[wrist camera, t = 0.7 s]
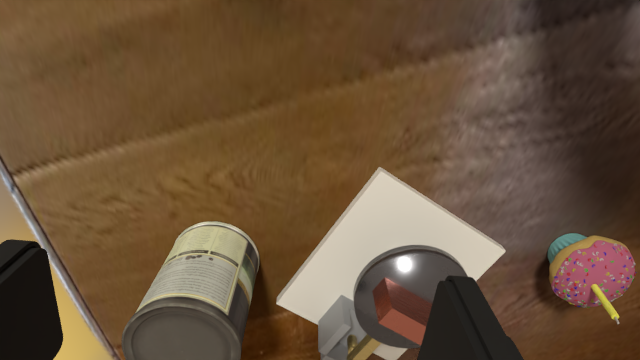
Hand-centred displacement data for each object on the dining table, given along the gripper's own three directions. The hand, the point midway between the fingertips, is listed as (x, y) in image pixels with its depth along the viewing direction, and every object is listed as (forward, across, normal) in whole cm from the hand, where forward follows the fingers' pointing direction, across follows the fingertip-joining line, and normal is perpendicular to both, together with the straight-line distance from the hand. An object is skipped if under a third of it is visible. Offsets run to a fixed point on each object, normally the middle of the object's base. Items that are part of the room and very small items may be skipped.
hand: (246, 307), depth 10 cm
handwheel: (+29, -13, +22) cm, 39 cm away
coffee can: (+33, +8, +22) cm, 41 cm away
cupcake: (+33, -34, +17) cm, 50 cm away
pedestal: (+33, -12, +23) cm, 42 cm away
